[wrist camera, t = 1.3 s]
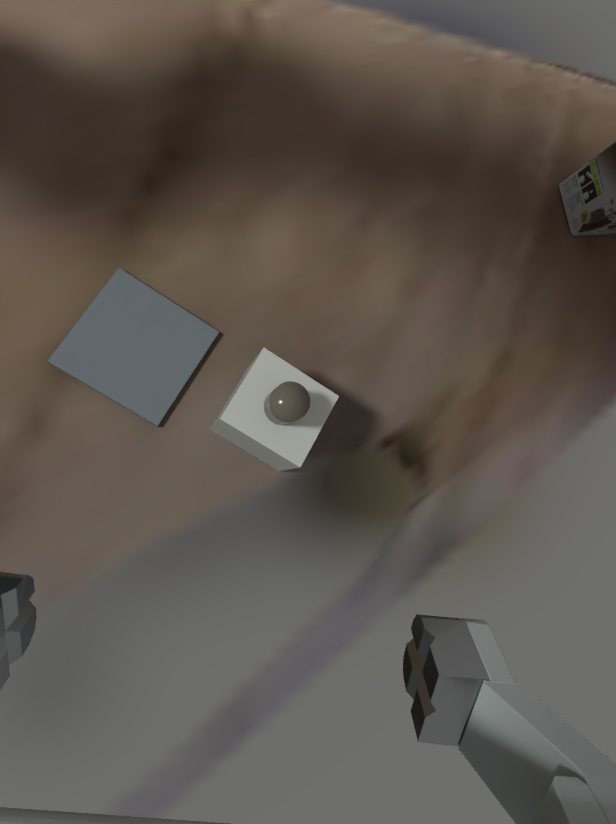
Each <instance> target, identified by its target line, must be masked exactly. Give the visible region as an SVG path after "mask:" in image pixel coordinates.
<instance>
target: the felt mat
mask: <svg viewBox="0 0 616 824" xmlns="http://www.w3.org/2000/svg"><path fill="white" fill-rule="evenodd" d="M218 333H219V331H217V330H216V329H214V328H212V327H211V326H209V325H208V324H206V323H205V322H203V321H202V320H200V319H198V318H197V317H195V316H194V315H192V314H191V313H189V312H187V311H186V310H184V309H183V308H181V307H180V306H178V305H177V304H175V303H173V302H172V301H170V300H169V299H167V298H166V297H164V296H163V295H161V294H159V293H158V292H156V291H155V290H153V289H152V288H150V287H149V286H147V285H145V284H144V283H142V282H141V281H139V280H138V279H136V278H135V277H133V276H131V275H130V274H128V273H127V272H125V271H124V270H122V269H120V268H118V270H117V271H116V272H115V273H114V275H113V276H112V277H111V279H110V280H109V281H108V283H107V284H106V285H105V286H104V288H103V289H102V290H101V292H100V293H99V294H98V296H97V297H96V298H95V300H94V301H93V302H92V303H91V305H90V306H89V307H88V309H87V310H86V311H85V313H84V314H83V315H82V317H81V318H80V319H79V320H78V322H77V323H76V324H75V326H74V327H73V328H72V330H71V331H70V332H69V334H68V335H67V336H66V337H65V339H64V340H63V341H62V343H61V344H60V345H59V347H58V348H57V349H56V351H55V352H54V353H53V354H52V356H51V357H50V358H49V360H48V363H50V364H52V365H53V366H55V367H57V368H59V369H60V370H62V371H64V372H65V373H67V374H69V375H70V376H72V377H74V378H76V379H77V380H79V381H81V382H82V383H84V384H86V385H87V386H89V387H91V388H93V389H94V390H96V391H98V392H99V393H101V394H103V395H104V396H106V397H108V398H110V399H111V400H113V401H115V402H116V403H118V404H120V405H122V406H123V407H125V408H127V409H128V410H130V411H132V412H133V413H135V414H137V415H139V416H140V417H142V418H144V419H145V420H147V421H149V422H150V423H152V424H154V425H156V426H158V425H159V423H160V422H161V420H162V419H163V417H164V416H165V414H166V413H167V411H168V410H169V408H170V407H171V405H172V404H173V402H174V401H175V399H176V398H177V396H178V394H179V393H180V391H181V390H182V388H183V387H184V385H185V384H186V382H187V381H188V379H189V378H190V376H191V375H192V373H193V372H194V370H195V369H196V367H197V365H198V364H199V362H200V361H201V359H202V358H203V356H204V355H205V353H206V352H207V350H208V349H209V347H210V346H211V344H212V343H213V341H214V340H215V338H216V337H217V335H218Z"/></svg>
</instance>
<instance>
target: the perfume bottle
mask: <svg viewBox="0 0 616 824" xmlns="http://www.w3.org/2000/svg"><path fill="white" fill-rule="evenodd" d="M338 397H339V396H338V395H336V394H335V393H333V392H332V391H330V390H329V389H327V388H326V387H324V386H322V385H321V384H319V383H318V382H316V381H315V380H313V379H312V378H310V377H309V376H307V375H305V374H304V373H302V372H301V371H299V370H298V369H296V368H295V367H293V366H292V365H290V364H288V363H287V362H285V361H284V360H282V359H281V358H279V357H278V356H276V355H275V354H273V353H271V352H270V351H268V350H267V349H265V348H263V349H262V350H261V352H260V353H259V354H258V356H257V357H256V358H255V359H254V361H253V362H252V363H251V365H250V366H249V367H248V369H247V370H246V372H245V373H244V375H243V377H242V378H241V380H240V381H239V383H238V385H237V386H236V388H235V390H234V391H233V393H232V394H231V396H230V398H229V399H228V401H227V403H226V404H225V406H224V407H223V409H222V411H221V412H220V414H219V415H218V417H217V419H216V420H215V422H214V424H213V425H212V427H211V428H210V430H211V431H213V432H215V433H216V434H218V435H220V436H221V437H223V438H225V439H226V440H228V441H230V442H231V443H233V444H235V445H236V446H238V447H240V448H241V449H243V450H245V451H246V452H248V453H250V454H251V455H253V456H255V457H256V458H258V459H260V460H261V461H263V462H265V463H266V464H268V465H270V466H271V467H273V468H275V469H276V470H278V471H284V470H289V469H295V468H300V467H301V466H302V464H303V462H304V460H305V458H306V456H307V455H308V453H309V451H310V449H311V447H312V445H313V443H314V442H315V440H316V438H317V436H318V434H319V432H320V431H321V429H322V427H323V425H324V423H325V421H326V420H327V418H328V416H329V414H330V412H331V410H332V408H333V407H334V405H335V403H336V401H337V399H338Z"/></svg>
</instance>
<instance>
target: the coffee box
mask: <svg viewBox="0 0 616 824" xmlns="http://www.w3.org/2000/svg"><path fill="white" fill-rule="evenodd" d="M559 189H560V193H561V196H562V200H563V205H564V208H565V212H566V216H567V220H568V224H569V228H570V232H571V235H573V236H583V235H604V234H616V142H615V143H614V144H612V145H611V146H610V147H608V148H607V149H606V150H604V151H603V152H602V153H600V154H599V155H598V156H596V157H595V158H593V159H592V160H591V161H589V162H588V163H587V164H585V165H584V166H583V167H581V168H580V169H579V170H577V171H576V172H575V173H573V174H572V175H571V176H569V177H568V178H567V179H565V180H564V181H562V182H561V183H560V184H559Z"/></svg>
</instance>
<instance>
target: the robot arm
mask: <svg viewBox="0 0 616 824" xmlns="http://www.w3.org/2000/svg"><path fill="white" fill-rule="evenodd" d="M34 591H35V589H34V580H33V578H32V577H30V576H29V575H21V574H13V573H5V572H0V690H1V689H2V687H3V685H4V684H5V682H6V681H7V679H8V678H9V676H10V672H9V664H11V663H12V662H14V661H15V660H17V659H19V658H20V657H22V656H23V654H24V652H25V650H26V649H27V647H28V646H29V644H30V641H31V638H32V636H33V633H34V630H35V625H36V608H35V606H34V605H33V604H32V603H31V602H30V601H29V599H30V597H31V596H32V594H33V593H34ZM411 631H412V634H413V639H412V640H411V641H410V642H408V643H407V644H406V648H405V652H404V657H403V658H404V659H403V677H404V683H405V688H406V691H407V693H408V694H409V695H410V696H411V697H412V698H413V699H414V701H413V704H412V708H411V715H412V719H413V723H414V728H415V732H416V736H417V740H418V742H424V743H433V744H442V745H450V746H459V750H460V751H461V753H462V754H463V755H464V756H465V758H466V759H467V760H468V762H469V763H470V764H471V766H472V767H473V768H474V770H475V771H476V772H477V773H478V775H479V776H480V777H481V779H482V780H483V781H484V783H485V784H486V785H487V787H488V788H489V789H490V791H491V792H492V793H493V794H494V796H495V797H496V798H497V800H498V801H499V802H500V804H501V805H502V806H503V808H504V809H505V810H506V812H507V813H508V814H509V815H510V817H511V818H512V819H513V821H514V822H515V823H516V824H616V764H615V763H614V762H612V760H610V759H609V758H608V757H607V756H606V755H604V754H603V753H602V752H601V751H600V750H599V749H597V748H596V747H595V746H594V745H593V744H592V743H591V742H589V741H588V740H587V739H586V738H585V737H583V736H582V735H581V734H580V733H579V732H578V731H577V730H576V729H574V728H573V727H572V726H571V725H570V724H568V723H567V722H566V721H565V720H564V719H563V718H562V717H560V716H559V715H558V714H557V713H556V712H555V711H553V710H552V709H551V708H550V707H549V706H548V705H546V704H545V703H544V702H543V701H542V700H541V699H539V698H538V697H537V696H536V695H535V694H534V693H533V692H531V691H530V690H529V689H528V688H527V687H526V686H524V685H523V684H516V682H515V680H514V678H513V676H512V673H511V671H510V670H509V667H508V665H507V663H506V661H505V659H504V657H503V655H502V652H501V650H500V648H499V647H498V644H497V642H496V640H495V638H494V636H493V634H492V632H491V629H490V627H489V625H488V623H486V622H485V621H484V620H476V619H464V618H462V619H459V618H448V617H437V616H426V615H416V617H415V618H414V620H413V623H412V626H411ZM0 824H229V823H214V822H200V821H187V820H173V819H159V818H145V817H131V816H117V815H103V814H88V813H74V812H60V811H47V810H33V809H19V808H5V807H4V808H3V807H0Z"/></svg>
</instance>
